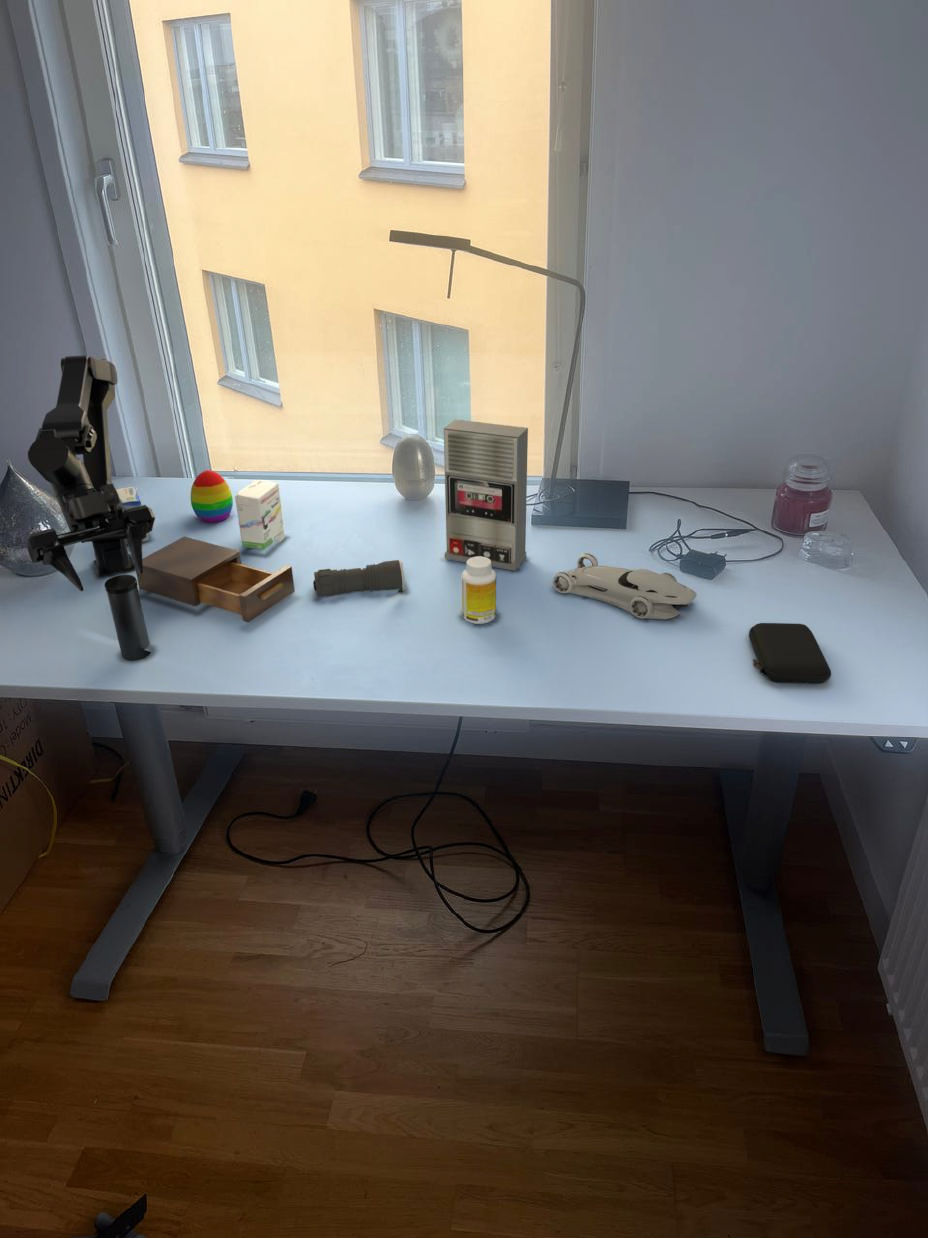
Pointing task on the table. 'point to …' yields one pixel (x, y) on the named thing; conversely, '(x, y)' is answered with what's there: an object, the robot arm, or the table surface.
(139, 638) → the canister
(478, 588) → the supplement bottle
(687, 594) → the car model
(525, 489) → the cassette tape recorder
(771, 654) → the carrying case
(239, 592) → the drawer
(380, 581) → the flashlight
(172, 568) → the drawer unit
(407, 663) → the table surface
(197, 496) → the decorative egg
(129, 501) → the medicine box
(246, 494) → the ink box
